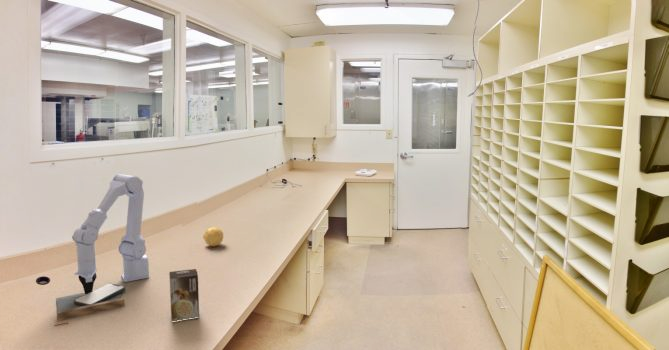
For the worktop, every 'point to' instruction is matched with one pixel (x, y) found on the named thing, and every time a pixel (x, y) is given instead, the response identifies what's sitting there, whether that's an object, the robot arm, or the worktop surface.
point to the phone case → (99, 295)
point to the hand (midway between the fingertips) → (88, 293)
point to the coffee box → (184, 294)
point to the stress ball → (213, 236)
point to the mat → (68, 301)
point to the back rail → (90, 308)
